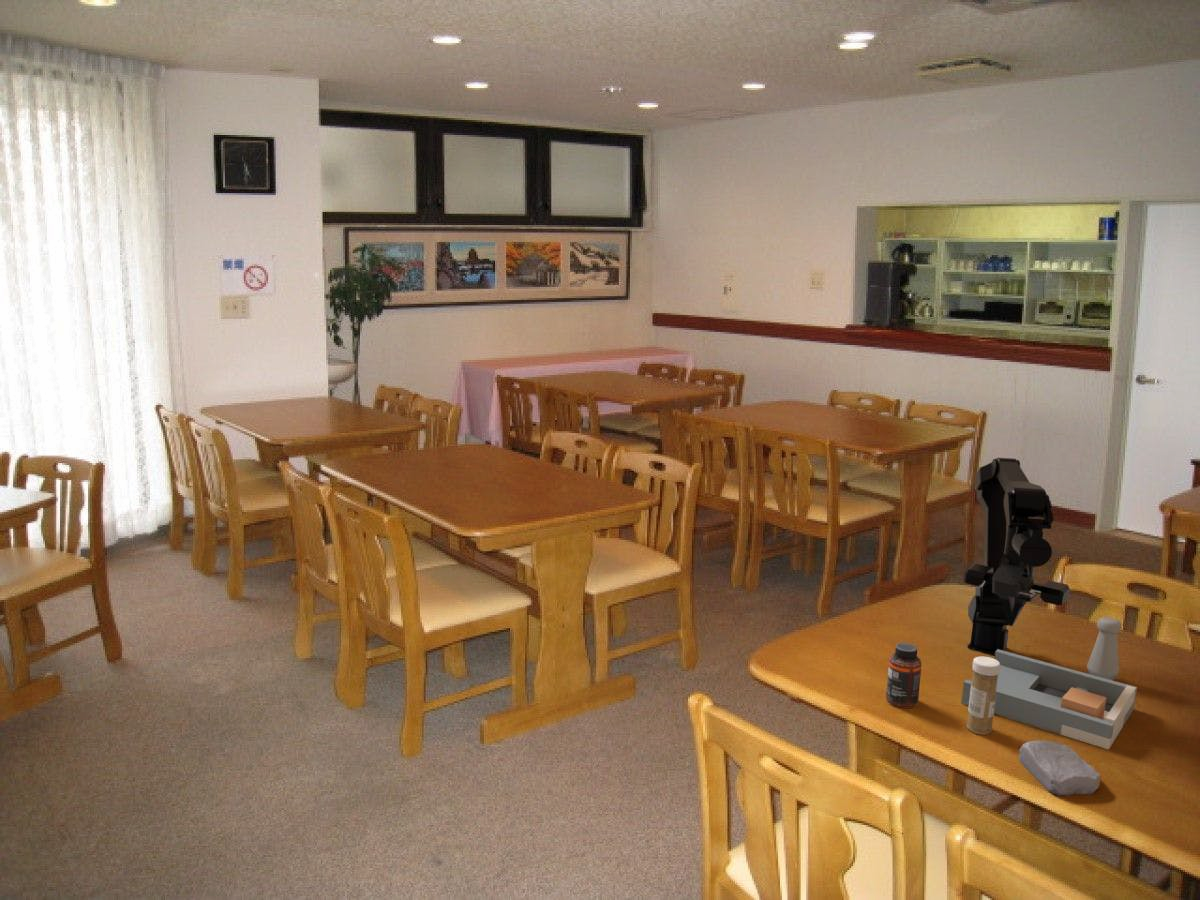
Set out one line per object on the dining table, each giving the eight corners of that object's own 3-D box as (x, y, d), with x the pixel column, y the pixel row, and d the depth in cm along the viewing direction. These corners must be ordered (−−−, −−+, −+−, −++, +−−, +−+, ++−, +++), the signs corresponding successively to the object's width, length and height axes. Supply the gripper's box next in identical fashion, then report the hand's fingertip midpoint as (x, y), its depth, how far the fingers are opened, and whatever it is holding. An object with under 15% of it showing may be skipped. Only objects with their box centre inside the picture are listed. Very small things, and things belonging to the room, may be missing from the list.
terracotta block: (1059, 718, 185) (1061, 697, 184) (1069, 706, 189) (1071, 687, 189) (1094, 729, 181) (1097, 708, 180) (1103, 717, 186) (1106, 697, 185)
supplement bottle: (918, 697, 196) (924, 643, 193) (917, 711, 190) (923, 655, 188) (886, 692, 198) (891, 638, 195) (884, 705, 192) (889, 650, 190)
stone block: (1062, 766, 176) (1011, 758, 174) (1072, 742, 175) (1020, 733, 173) (1103, 807, 165) (1048, 799, 163) (1113, 782, 164) (1058, 773, 162)
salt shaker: (1120, 687, 203) (1130, 626, 200) (1089, 683, 204) (1098, 623, 201) (1112, 674, 208) (1121, 615, 205) (1082, 671, 209) (1091, 612, 207)
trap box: (961, 703, 194) (964, 679, 193) (995, 669, 209) (998, 646, 208) (1108, 749, 178) (1112, 723, 177) (1133, 709, 194) (1137, 684, 193)
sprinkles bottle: (997, 734, 183) (1006, 665, 180) (974, 736, 182) (983, 667, 179) (982, 722, 187) (990, 654, 184) (960, 724, 186) (968, 656, 183)
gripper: (958, 549, 198) (949, 624, 201) (1059, 571, 186) (1048, 650, 190) (977, 536, 206) (969, 608, 210) (1075, 556, 195) (1064, 632, 198)
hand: (1010, 624), depth 202 cm, fingers closed
